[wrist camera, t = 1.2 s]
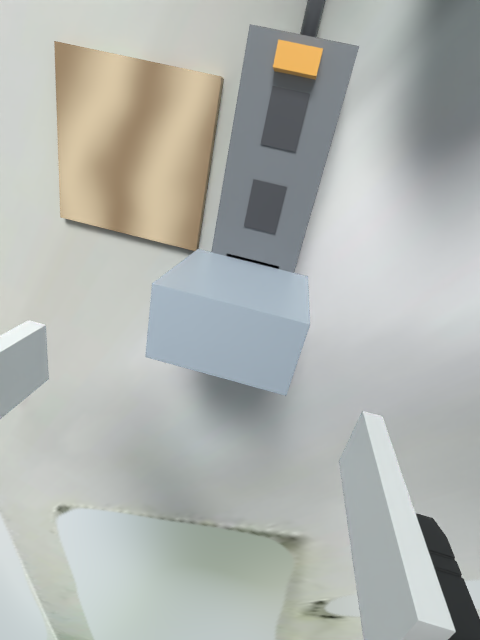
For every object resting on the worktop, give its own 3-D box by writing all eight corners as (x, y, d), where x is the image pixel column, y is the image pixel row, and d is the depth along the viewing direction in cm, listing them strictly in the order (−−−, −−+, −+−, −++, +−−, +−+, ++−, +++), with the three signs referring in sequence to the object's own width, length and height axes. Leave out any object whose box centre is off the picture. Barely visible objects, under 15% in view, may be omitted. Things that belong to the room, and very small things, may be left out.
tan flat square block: (223, 78, 23) (221, 76, 22) (198, 249, 28) (195, 251, 27) (60, 44, 23) (54, 41, 23) (64, 216, 29) (60, 217, 28)
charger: (205, 243, 25) (152, 283, 16) (307, 268, 25) (310, 324, 16) (197, 295, 27) (145, 356, 18) (291, 320, 27) (286, 395, 18)
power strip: (291, -133, 18) (288, -227, 14) (401, -115, 18) (432, -206, 13) (209, 318, 30) (193, 343, 26) (273, 335, 30) (268, 363, 26)
